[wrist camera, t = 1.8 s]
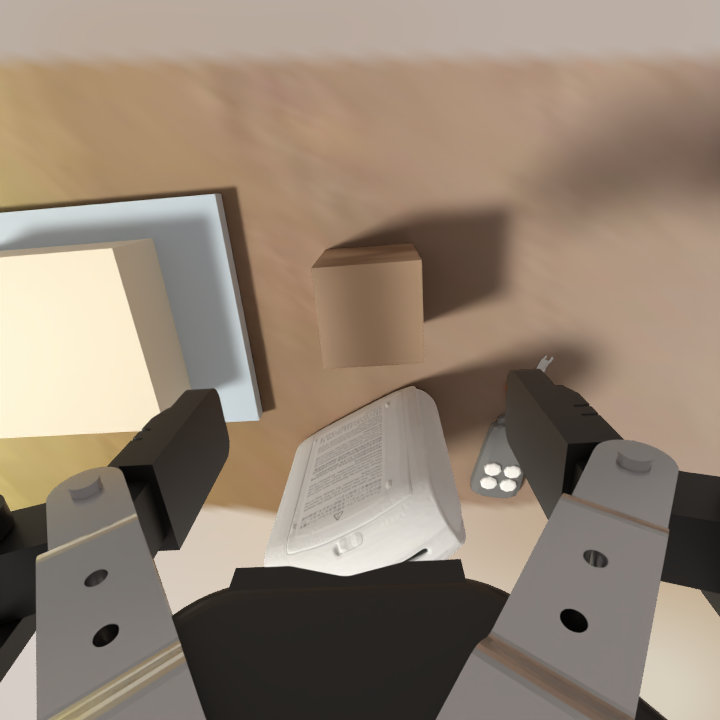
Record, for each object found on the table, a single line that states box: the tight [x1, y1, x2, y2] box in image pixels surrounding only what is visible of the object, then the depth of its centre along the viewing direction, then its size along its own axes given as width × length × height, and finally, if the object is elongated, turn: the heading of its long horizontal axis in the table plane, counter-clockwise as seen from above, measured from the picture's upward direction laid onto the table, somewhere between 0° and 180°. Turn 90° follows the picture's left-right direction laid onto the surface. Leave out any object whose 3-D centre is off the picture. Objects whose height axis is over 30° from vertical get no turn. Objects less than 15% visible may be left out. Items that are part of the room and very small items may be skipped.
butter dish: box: [0, 193, 263, 438], centre depth 25 cm, size 18×14×5 cm
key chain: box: [470, 356, 554, 498], centre depth 28 cm, size 13×4×2 cm, turn 173°
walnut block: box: [311, 243, 424, 369], centre depth 23 cm, size 5×5×6 cm
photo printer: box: [264, 386, 466, 576], centre depth 24 cm, size 10×4×12 cm, turn 122°
